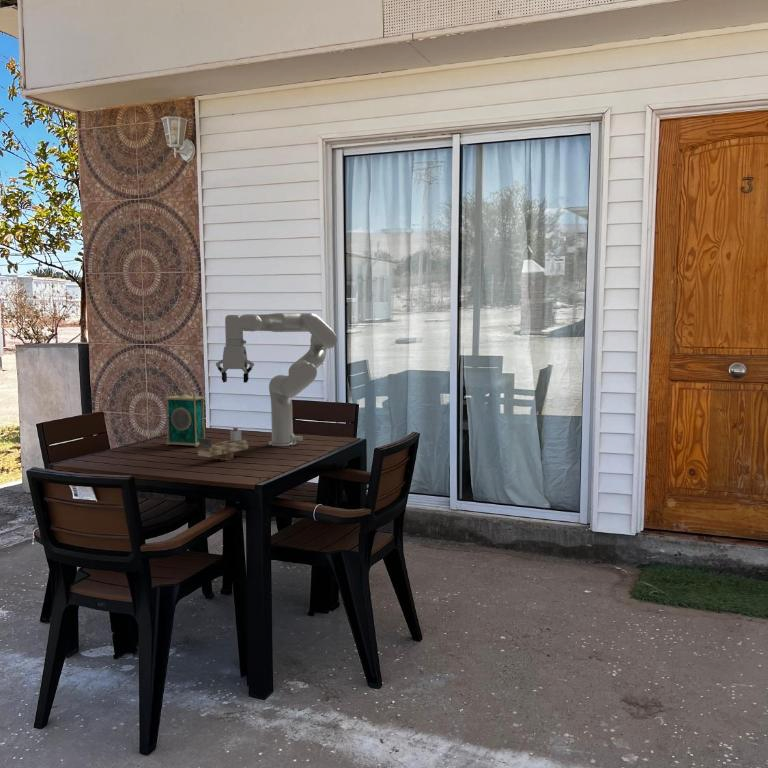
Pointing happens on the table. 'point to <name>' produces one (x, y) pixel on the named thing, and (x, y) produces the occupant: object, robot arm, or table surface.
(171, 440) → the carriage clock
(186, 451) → the table surface
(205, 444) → the beam
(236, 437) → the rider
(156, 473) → the table surface
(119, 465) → the table surface
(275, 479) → the table surface
